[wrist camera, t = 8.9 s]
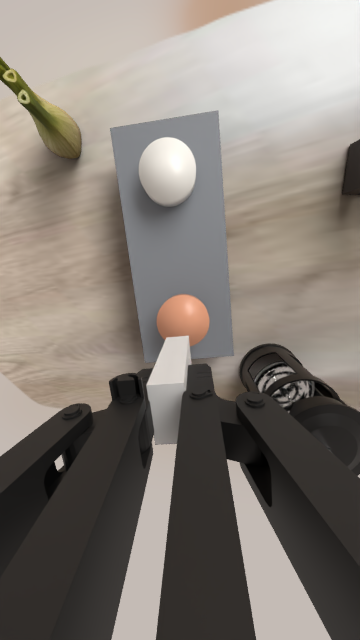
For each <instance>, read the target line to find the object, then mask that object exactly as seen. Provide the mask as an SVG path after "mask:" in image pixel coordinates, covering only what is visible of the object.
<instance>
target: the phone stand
mask: <svg viewBox="0 0 360 640" xmlns="http://www.w3.org/2000/svg"><path fill="white" fill-rule="evenodd" d="M342 194H346V195H360V140H358V141H356V142H354V143H352V144H351V145H350V149H349V155H348V161H347V167H346V174H345V180H344V186H343V192H342Z"/></svg>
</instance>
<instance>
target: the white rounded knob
mask: <svg viewBox="0 0 360 640" xmlns="http://www.w3.org/2000/svg"><path fill="white" fill-rule="evenodd" d="M139 177H140V181H141V184H142V186H143V188H144V189H145V191H146V193H147V194H148V196H149V197H150V198H151V199H152V200H153V201H154V202H155V203H157V204H159V205H161V206H165V207H173V206H177V205H179V204H181V203H183V202H184V201H185V200H186V199H187V198H188V197H189V196H190V195H191V193H192V191H193V189H194V186H195V181H196V163H195V159H194V156H193V154H192V152H191V150H190V149H189V148H188V146H187V145H186V144H184V143H183V142H182V141H180V140H178V139H176V138H171V137H164V138H160V139H157V140H155V141H153V142H152V143H151V144H149V145H148V146H147V148H146V149H145V150H144V152H143V154H142V156H141V158H140V162H139Z"/></svg>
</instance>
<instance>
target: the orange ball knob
mask: <svg viewBox="0 0 360 640" xmlns="http://www.w3.org/2000/svg"><path fill="white" fill-rule="evenodd" d="M157 328H158V331H159V333H160V335H161V336H162V338H163V339H164V340H166V338H167V337H178V336H189V344H190V346H193V345H195V344H197V343H199V342H200V341H201V340H202V339H203V338H204V337H205V335H206V334H207V331H208V329H209V315H208V312H207V309H206V307H205V305H204V304H203V303H202V301H200V300H199V299H198V298H197V297H195V296H192V295H189V294H178V295H175V296H172V297H171V298H169V299H168V300H167V301H166V302H165V303H164V304H163V305H162V306H161V308H160V310H159V312H158V315H157Z"/></svg>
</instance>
